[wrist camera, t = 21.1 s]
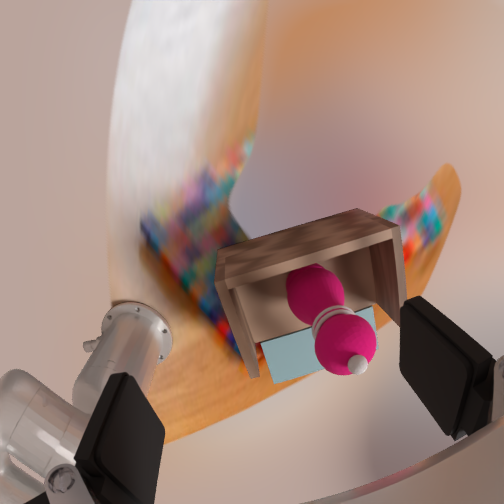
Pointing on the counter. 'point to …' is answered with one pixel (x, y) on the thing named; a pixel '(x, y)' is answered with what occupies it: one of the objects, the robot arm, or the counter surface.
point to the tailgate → (299, 351)
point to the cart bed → (300, 255)
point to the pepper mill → (330, 320)
